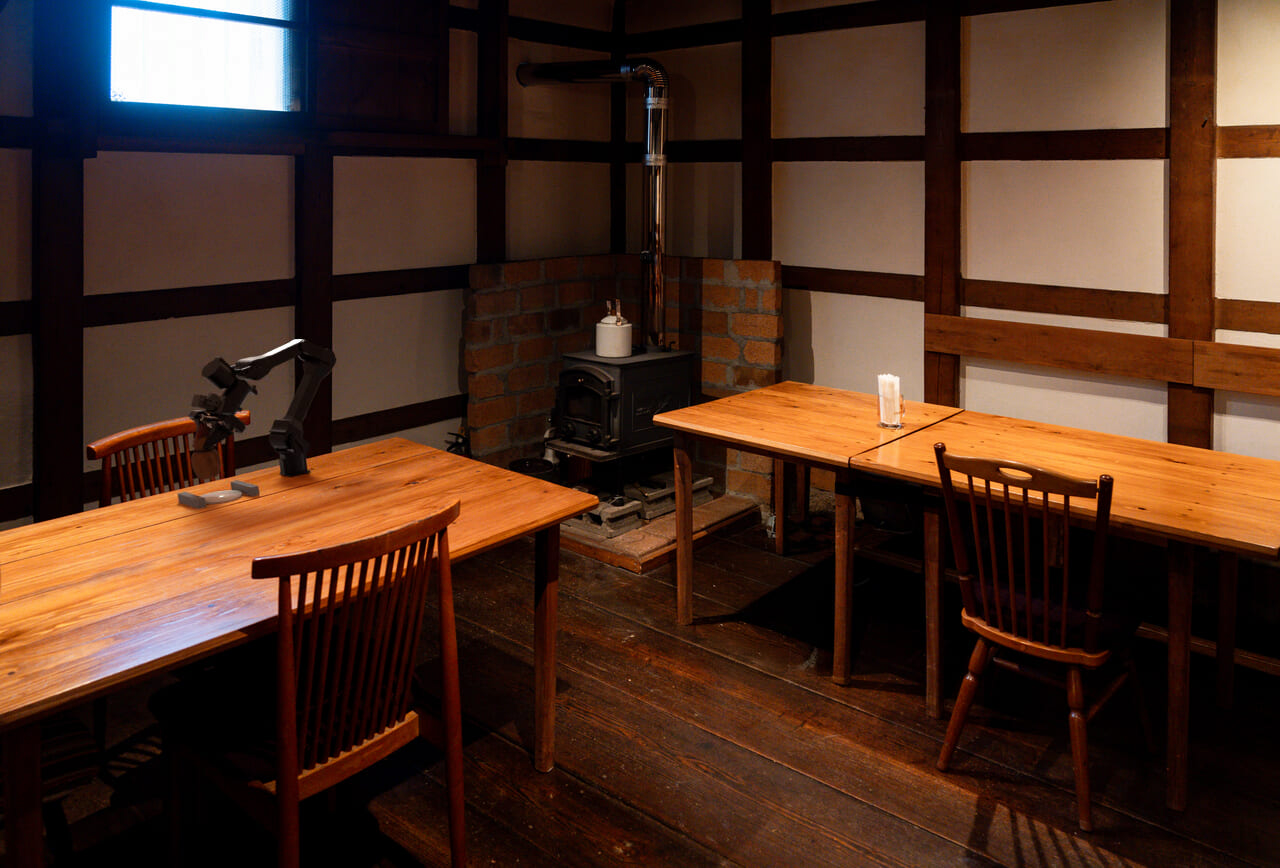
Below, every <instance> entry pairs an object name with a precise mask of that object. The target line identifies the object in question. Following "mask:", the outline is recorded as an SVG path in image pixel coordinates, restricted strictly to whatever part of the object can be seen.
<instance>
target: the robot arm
mask: <svg viewBox="0 0 1280 868" xmlns="http://www.w3.org/2000/svg"><path fill="white" fill-rule="evenodd" d="M297 357H298V358H299V359H300V360H302V361H303V365H302V367H303V371H304V373H303V376H302V379H301V381H300V382H299V385H298V387H297V389H296V391H295V394H294V396H293V398H292V401H291V402H290V405H289V406H288V407H289V408H288V409H287V411H286V413H285V415H284V416H283V418H281V419H274V421H273V423H272V426H271V428H270V429H269V430H268V432H269V435H268V441H269V444H270V445H271V446H272V447H273V450H274V452H275V453H276V454H279V459H278V464H279V470H280V471H279V475H282V476H287V477H295V476H299V475H304V474H307V473H311V469H308V462H307V454H306V453H307V452H310V447H311V445H310V443H309V442H308V441H307V440H306V439H305V438H304V437H303V434H304V428H303V422H304V419H305V418H306V415H307V412H308V411H309V408H310V406H311V404H312V402H313V400H314V397H315V395H316V393H317V390H318V389H319V386H320V384H321V381H322V380H323V379H324V378H325V377H327V376H328V375H329V374H330V373H331V372H332V370H333V369H334V367H335V366H336V363H337V357H336V354H335V352H334V351H333V350H332V349H330V348H325V347H323V346H320V345H318V344H315V343H312V342H310V340H307V339H305V338H304V339H302V338H301V339H300V338H299V339H298V338H297V339H292V340H291V341H289V342H288V343H286V344H283V345H281V346H279V347H276V348H275V349H273V350H271V351H268V352H266V353H264V354H262V355H258V356H257V355H256V356H251V357H250V356H249V357H246V358H241V359H239V360H236V362H235V364H234V365H230V364H229V363H228V362H227V361H226V360H225V359H224V358H223V357H222V356H215V358H214V359H213V360H211V361H209V362H208V363H207V364H206V365H204V366H203V368H202V369H201V374H200V375H201V377H203V378H204V379H205V380H207V381H208V382H209V383H211V385H213V386H214V387H215V388H216V389H218V390H223V391H222V393H220V395H218V394H216V393H211V392H210V393H208V394H207V395H205V394H196V393H195V394H193V396H192V400H191V405H190V406H191V407H194V408H195V407H196V408H200V409H204V410H200V409H199V410H198V409H195V410H191V411H190V412H189V414H188V415H187V417H188V418H189V419H190V420H191V421H192V422H194V423H195V426H196V429H195V434H194V438H196V432H198V428H200V429H201V423H202V425H203V428H204V423H205V420H206V422H207V428H208V434H209V435H208V437H207V439H206V441H205V443H204V445H203V447H202V448H203V449H204V450H207V449H209V448H211V447H212V446H213V447H214V446H215V445H217V444H219V443H220V442H222V441H224V440H225V439H227V438H229V437H231V436H233V435H234V434H241V435H243V433H244V431H245V430H246V429H247V428H246V427H247V426H246V423H245V422H244V421H243V420H241V419H240V418H239V417H238V416H236V414H237V413H238V412H239V413H241V412H242V411H243V408H242V405H243V404H244V402H245V401H246V399H247V398H248V396H249V395H253V396H258V395H259V393H258V390H257V384H251V383H249V382H248V381H253V382H254V381H261V380H262V379H264V378H265V377H266V376H268V375H269V374H270V372H271V371H272V370H273V369H274V368H276V367H278V366H280V365H282V364H284V363H286V362H289V361H290V360H293V359H295V358H297ZM233 431H234V432H233ZM192 448H193V449H194V447H193V444H192Z"/></svg>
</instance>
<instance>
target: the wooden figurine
mask: <svg viewBox="0 0 1280 868" xmlns="http://www.w3.org/2000/svg"><path fill="white" fill-rule="evenodd" d="M195 434H196V438H195V437H194V438H193V440H192V445H193V447H194V448H193V447H192V448H193V449H194V450H195V451H194V452H192V455H191V458H190V460H191V467H192V470H193V472H194V474H195V476H196V478H198V479H199V480H211V479H214V478H216V477H218V475H219V474H220V472H221V464H222V462H221V457H220V454H219V452H218V451H217V450H216V449H215V448H214V446H212V447H211V448H209V449H207V450H204V449H203V448H202V447H203V445H204V443H205V441H206V439H207V437H208V435H209V434H208V428H207V422H206V420H205V423H204V428H203V425H202V423H201V429H200V428H198V432H196V431H195Z"/></svg>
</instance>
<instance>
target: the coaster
mask: <svg viewBox="0 0 1280 868" xmlns="http://www.w3.org/2000/svg"><path fill="white" fill-rule="evenodd" d="M199 496H200V497H203V498H205V501H206V505H215V504H216V505H217V504H223V503H228V502H233V501H235V500H238V499H240V498H241V497H242V496H243V494H242V492H241V491H238V490H231V489H229V490H228V489H227V490H226V489H225V490H219V491H212V492H207V493H204V494H201V495H199Z"/></svg>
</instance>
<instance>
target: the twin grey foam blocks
mask: <svg viewBox="0 0 1280 868" xmlns="http://www.w3.org/2000/svg"><path fill="white" fill-rule="evenodd" d="M230 490H238V491H241V492H242V495H246V496H250V497H255V496H259V495H260V489H259V485H256V484H253V483H250V482H247V481H246V482H245V481H242V480H239V479H238V480H232V481H230ZM176 494H177V499H178V500H177V501H178V503H180V504H182V505H186V506H188V507H190V508H194V509H196V510H201V509H204V508H207V504H206V501H205V498H203V497H200V496H201V495H197V494H194V493H191V492H187V491H183V492H179V493H176Z"/></svg>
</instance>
